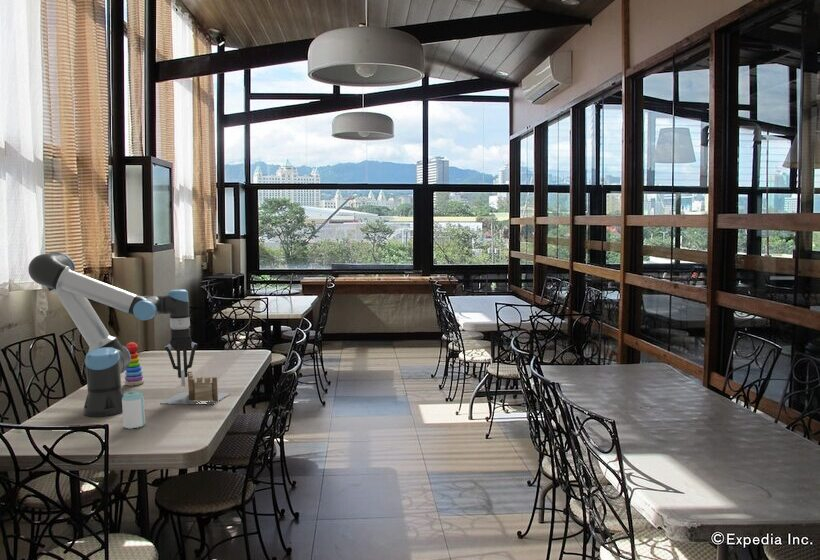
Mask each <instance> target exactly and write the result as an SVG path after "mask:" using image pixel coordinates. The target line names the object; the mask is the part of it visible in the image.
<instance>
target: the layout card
mask: <svg viewBox="0 0 820 560" xmlns="http://www.w3.org/2000/svg"><path fill="white" fill-rule="evenodd" d="M229 394H230V395H231V393H226V392H225V393H223V392H218V401H219V400H221V399H222V398H224V397H225V398H227V397H228V396H227V395H229ZM230 395H229V396H230ZM226 396H227V397H226ZM225 398H224V399H225ZM222 400H223V399H222ZM222 400H221V401H222ZM218 401H210V402H209V401H208V402H206V403H207V404H212V405H211V406H214V405H215V404H214V403H216V402H217V403H219V402H220V401H219V402H218ZM198 402H200V401H198ZM198 402H197V401H195V400H194V401H189V392H179V393H177V394H174V395H173V396H171V397H169V398H166V399H165V400H164V401H162V402H160V405H162V404H161V403H171V404H170V405H178V404H196V403H198ZM200 403H201V402H200ZM217 403H216V404H217ZM198 404H199V403H198ZM213 404H214V405H213Z"/></svg>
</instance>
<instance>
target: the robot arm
mask: <svg viewBox="0 0 820 560" xmlns="http://www.w3.org/2000/svg"><path fill="white" fill-rule="evenodd" d="M27 271H28V274H29V277H30V279H32V281H33V282H35V283H37V284H38V285H41V286H44V287H46V288H47V290H48V292H49V293H50V294H54V295H56V296H57V297H58V300H59V301H60V303H61V304H62V306H63V307H64V309H65V310H66V312H67V314H68V315H69V316H70V318H71V320H72V321H73V322H74V325H75V326H76V328H77V330H78V331H79V333H80V334H81V335H82V337H83V338H84V340H85V342H86V344H87V345H88V347H89V349H88V352H87V353H86V355H85V360H84V364H85V370H86V371H85V374H86V375H85V376H86V385H87V386H86V387H87V395H86V398H85V401H84V402H85V403H84V406H83V415H84V416H87V417H94V418H95V417H96V418H97V417H108V416H113V415H118V414H120V413H121V414H122V413H123V410H122V398H123V396H124V393H123V390H122V379H121V374H123V373H125V372H126V369H127V368H128V366H129V364H130V359H131V357H130V353H129V351H128V349H127V348H126V346H124V345H122V344H121V342H120V341H119V339H118V338H117V336H112V335H110V333H109V331H108V329H107V328H106V326H105V325H104V323H103V322H102V320H101V318H100V317H99V315H98V313H97V312H96V311H95V309H94V307H93V306H92V304H91V302H90V301H89V300H92V301H94V302H97V303H100V304H103V305H104V306H108V307H111V308H113V309H116V310H119V311H122V312H124V313H126V314H129V315H132V316H134V317H135V318H136V319H137V320H140V321H148V320H151V319H153V318H154V317H155V316H157V315H169V323H170V324H169V327H170V328H171V329H170V341H169V344H167V345H165V346H164V349H165V350H166V352H167V354H168V357H169V360H170V363H171V367H172V369H173V370H177V377H178V379H180V383H181V387H185V386H186V378H188V369H190V368H192V367H193V363H194V358H195V357H194V356H195V353H196V350H197V348H198V346H199V345H198V343H196V342H194V341H193V340H192V337H191V335H192V334H191V328H190V326H191V321H190V320H191V319H190V300H189V291H188V290H186V289H183V288H182V289H181V288H180V289H170V290H169V291H168V294H166V295H144V296H143V295H142V296H141V295H138V294H135V293H133V292H130V291H127V290H125V289H122V288H120V287H117V286H114V285H111V284H108V283H106V282H103V281H101V280H97V279H95V278H92V277H90V276H87V275H85V274H83V273H79V272H77V271H76V265H75V263H74V261H73V259H72V258H71V257H69V255H67V254H65V253H63V252H62V253H61V252H49V253H42V254H39V255H37V256H35V257H34V258H32V259H31V261H30V262H29V265H28V270H27ZM190 346H191V351H190V355H189V360H188V358H187V357H188V355H187V354H188V352H187V350H189V347H190ZM172 348H173V349H174V351H176V363H175V360H174V357H173V353H172V351H171V350H172ZM181 352H182V357H183V358H182V359H183V368H182V365H181Z"/></svg>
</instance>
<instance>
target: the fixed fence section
mask: <svg viewBox="0 0 820 560" xmlns="http://www.w3.org/2000/svg"><path fill="white" fill-rule="evenodd" d="M211 379H212V380H211ZM187 385H188V393H189V401H194V400H195V401H218V393H219V391H218V377H217V376H212V377H211V376H205V377H204V380H203V376H197V377H196V381H195V378H194V377H193V378H190V379H188V378H187Z"/></svg>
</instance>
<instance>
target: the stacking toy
mask: <svg viewBox="0 0 820 560" xmlns="http://www.w3.org/2000/svg"><path fill="white" fill-rule="evenodd" d="M125 347H126V348H127V349H128V351H129V353H130V357H131V359H130V364H129V366H128V368H127V369H126V370H125V372H124V373H125V377H124V380H125V381H124V384H125V386H129V387H130V386H132V387H134V385H135V386H139V385H140V386H141V385H142V384H144V383H145V380H144V375H143V370H142V366H141V362H140V358H139V353H138V349H139V346H138V344H137V343H136V342H133V341H130V342H127V344H126V346H125Z"/></svg>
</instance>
